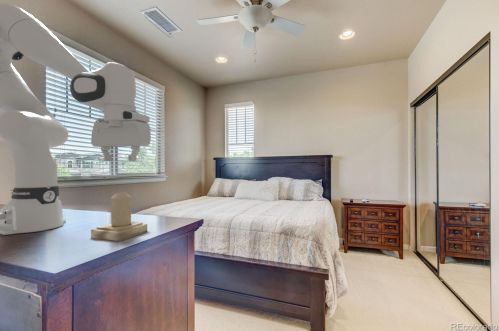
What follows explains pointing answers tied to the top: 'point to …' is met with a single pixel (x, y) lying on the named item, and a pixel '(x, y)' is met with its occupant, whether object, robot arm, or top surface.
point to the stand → (118, 231)
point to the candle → (121, 209)
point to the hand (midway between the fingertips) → (120, 161)
